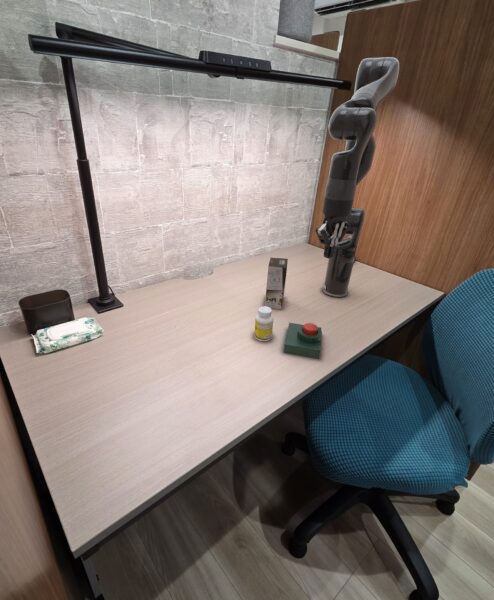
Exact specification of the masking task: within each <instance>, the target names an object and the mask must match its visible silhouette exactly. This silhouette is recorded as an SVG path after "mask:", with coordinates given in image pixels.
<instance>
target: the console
mask: <svg viewBox="0 0 494 600" xmlns="http://www.w3.org/2000/svg"><path fill="white" fill-rule="evenodd" d="M303 327H304V324H301V323H295V322H288V327H287V331H286V336H285V341H284V347H283V353H284V354H289V355H294V356H301V357H306V358H311V359H317V360H318V359H320V356H321V351H322V350H321V349H322V336H323V330H322V327H320V326H317V327H318V329H317V334H316V335H307V334H305V333H303Z"/></svg>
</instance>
